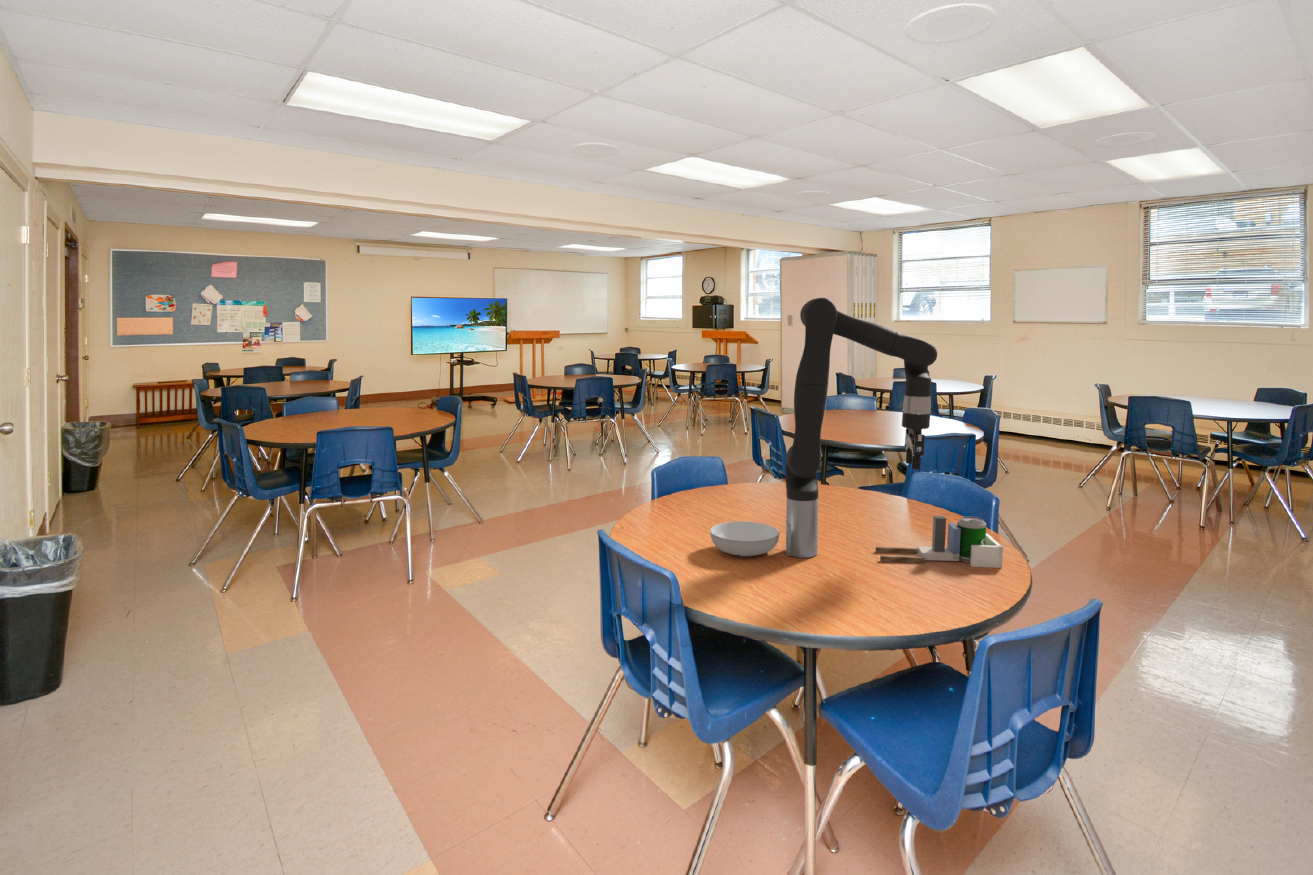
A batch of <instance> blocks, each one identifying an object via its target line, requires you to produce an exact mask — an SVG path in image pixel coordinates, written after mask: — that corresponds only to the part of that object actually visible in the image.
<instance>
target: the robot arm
mask: <svg viewBox="0 0 1313 875" xmlns="http://www.w3.org/2000/svg"><path fill="white" fill-rule="evenodd" d="M799 316H800V317H799V318H800V321H801V323H802V325H803V326H804V327H805V328H804V329H805V330H804V331H805V333H804V334H805V335H804V347H803V352H802V356H801V358H800V361H799V365H798V368H797V372H796V376H795V382H794V394H793V412H794V426H795V427H794V436H793V441H792V442H793V443H792V446H790V447H789V448H788V450H787V452H786V456H785V488H786V510H785V511H786V515H785V516H786V517H785V518H786V519H785V553H786V556H787V557H788V556H790V557H795V558H802V559H803V558H805V559H806V558H812V557H813V558H814V557H816V556H817V555H818V538H819V536H818V533H819V531H818V530H819V486H818V485H819V484H818V470H819V468H820V466H821V433H822V432H821V431H822V427H823V420H824V416H825V410H826V402H827V398H828V397H827V396H828V390H829V388H828V387H829V380H830V379H829V377H830V362H831V361H830V360H831V358H830V357H831V348H832V341H833V337H834V335H836V336H839V337H842V338H844V339H847V340H849V341H852V342H854V343H857V344H860V345H862V346H863V347H866V348H869V349H871V350H874V351H876V352H878V353H881V354H885V355H886V356H889V357H896V358H899V359H901V360H903V366H904V375H905V387H904V397H903V402H902V403H903V404H902V415H901V416H902V417H901V426H902V427H903V428H904V429H905V439H904V440H905V441H904V448H905V452H906V453H905V454H906V455H905V463H906V464H908V465H911V469H912V470H916V471H917V470H921V463H922V462H921V461H922V456H924V453H925V452H924V451H925V439H926V436H925V434H922V432H923V431H922V430H927V429H929V428H930V425H931V423H930V422H931V413H932V412H931V409H932V400H931V398H932V396H931V394H932V378H931V377H930V375H929V369H928V368H929V366H931V365H933V364H934V363H935V362H936V360H937V357H938V351H937V348H936V347H935V345H933V344H932V343H930V342H928V341H926V340H922V339H920V338H916V337H913V336H910V335H909V336H908V335H905V334H904V333H902V332H899V331H897V330H894V329H892V328H889V327H886V326H883V325H880V324H878V323H875V322H871V321H867V320H863V319H859V318H856V317H853V316H851V315H848V314H845V313H843V312H842V311H839V310H838V309H837V306H836V304H834V302H833V301H832V300H831V299H829V298H826V297H817V298H812V299H810V300H808V301H806V303H805V304H803V306H802V307H801V310H800V314H799Z"/></svg>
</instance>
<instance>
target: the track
mask: <svg viewBox="0 0 1313 875" xmlns="http://www.w3.org/2000/svg"><path fill="white" fill-rule="evenodd" d="M875 553H876V554H906V555H879V556H880V558H879V559H880V562H881V563H882V562H883V563H911V564H914V563H916V564H925V562H926V560H925V558H924V557H920V556H914V555H919V554H918V547H897V546H896V547H893V546H891V547H890V546H888V547H887V546H875ZM907 554H910V555H911V556H907ZM912 555H913V556H912Z"/></svg>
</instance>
